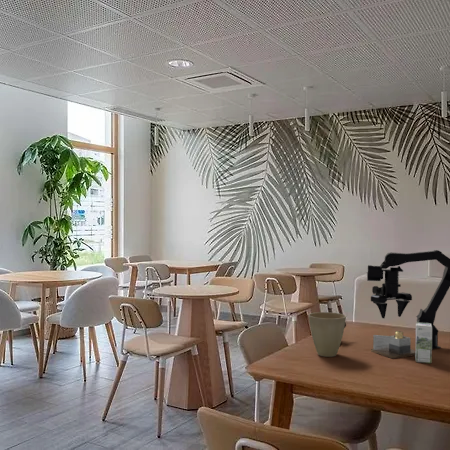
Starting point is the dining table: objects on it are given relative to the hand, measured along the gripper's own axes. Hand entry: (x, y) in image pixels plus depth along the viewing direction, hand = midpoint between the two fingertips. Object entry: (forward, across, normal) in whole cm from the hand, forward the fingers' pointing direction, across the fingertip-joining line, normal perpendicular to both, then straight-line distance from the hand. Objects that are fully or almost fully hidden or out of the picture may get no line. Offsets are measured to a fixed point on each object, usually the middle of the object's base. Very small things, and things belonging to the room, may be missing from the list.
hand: (391, 317), depth 221 cm
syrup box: (+12, +7, +25) cm, 28 cm away
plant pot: (+12, +35, +1) cm, 37 cm away
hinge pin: (+11, +8, +13) cm, 19 cm away
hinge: (+12, +8, +11) cm, 18 cm away
